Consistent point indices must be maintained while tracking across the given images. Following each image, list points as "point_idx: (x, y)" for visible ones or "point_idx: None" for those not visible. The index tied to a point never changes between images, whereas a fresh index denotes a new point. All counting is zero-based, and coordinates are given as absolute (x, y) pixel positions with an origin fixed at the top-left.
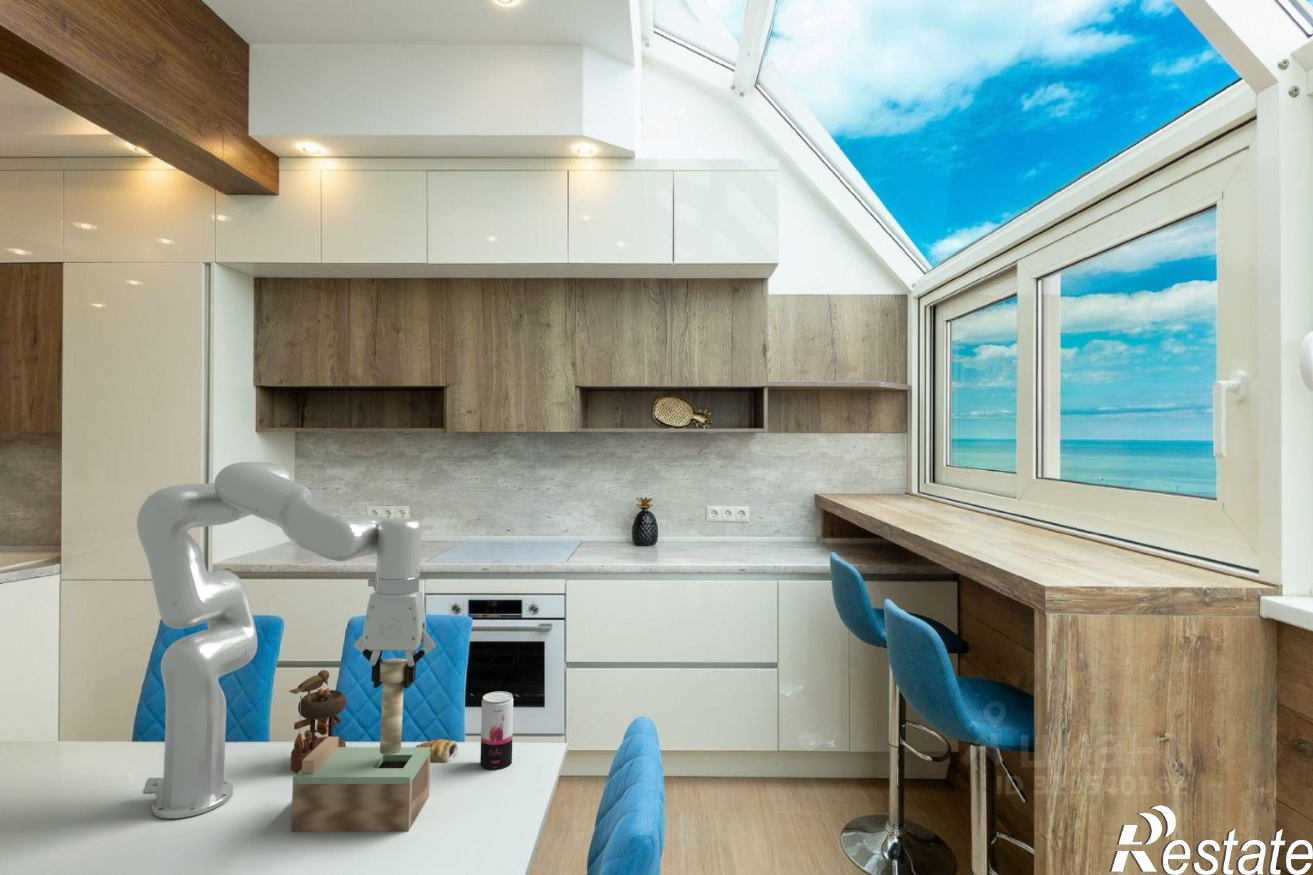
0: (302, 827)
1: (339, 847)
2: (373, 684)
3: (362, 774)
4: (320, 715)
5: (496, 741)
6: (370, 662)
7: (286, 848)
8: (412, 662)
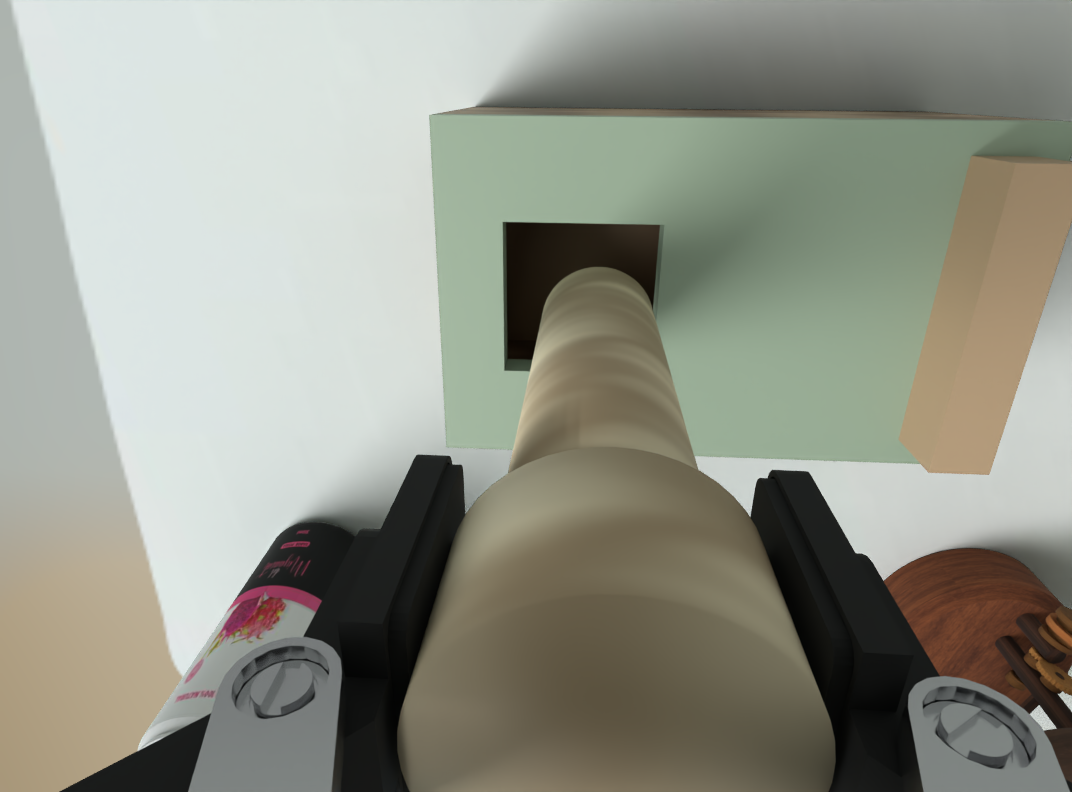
0: (897, 112)
1: (715, 33)
2: (816, 487)
3: (697, 151)
4: (1062, 738)
5: (261, 594)
6: (1017, 731)
7: (923, 28)
8: (248, 688)
